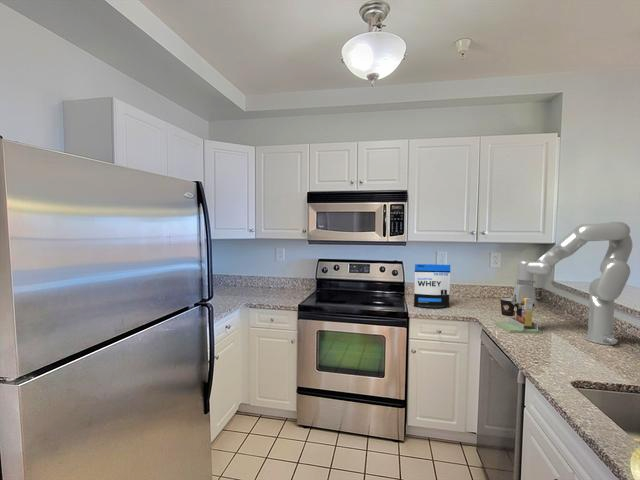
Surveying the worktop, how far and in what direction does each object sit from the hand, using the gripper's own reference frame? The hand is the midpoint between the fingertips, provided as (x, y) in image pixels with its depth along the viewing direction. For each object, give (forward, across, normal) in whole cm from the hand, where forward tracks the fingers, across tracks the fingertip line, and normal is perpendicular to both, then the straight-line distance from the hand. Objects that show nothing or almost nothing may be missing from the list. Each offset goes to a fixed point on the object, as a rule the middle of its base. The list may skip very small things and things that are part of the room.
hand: (523, 315), depth 183 cm
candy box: (+5, 0, 0) cm, 5 cm away
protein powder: (+8, +35, -47) cm, 59 cm away
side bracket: (+7, 0, 0) cm, 7 cm away
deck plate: (+8, +2, -2) cm, 9 cm away
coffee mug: (+8, -9, -29) cm, 32 cm away
